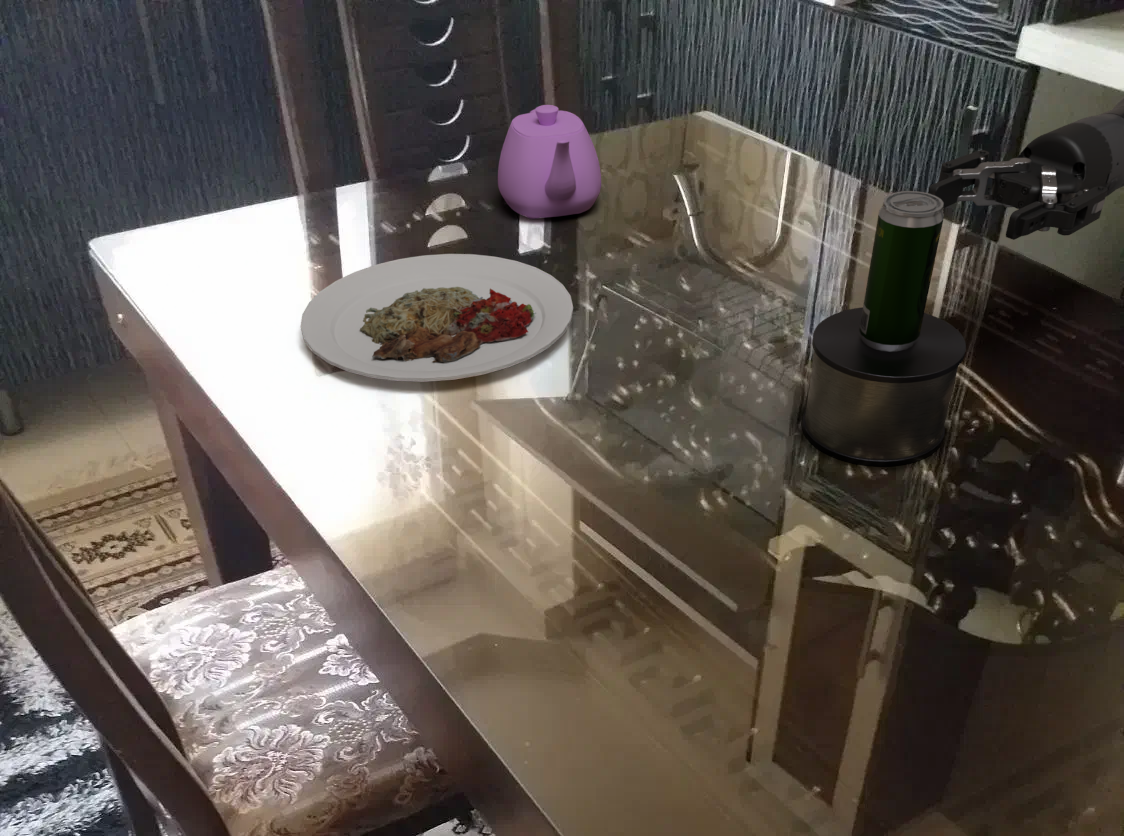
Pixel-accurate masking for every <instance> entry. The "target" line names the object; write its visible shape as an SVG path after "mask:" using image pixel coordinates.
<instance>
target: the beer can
mask: <svg viewBox="0 0 1124 836" xmlns="http://www.w3.org/2000/svg"><path fill="white" fill-rule="evenodd" d="M943 204H944V203H943V201H942V200H941V199H940V198H938V197H937V196H934V195H932V194H929V193H928V192H923V191H915V190H904V191H896V192H892V193H890V194H887V195H886V196H885V197H884V198H883V202H882V205H881V207H880V209H879V210H878V215H877V221H876V226H875V233H874V239H873V246H872V250H871V258H870V264H869V269H868V275H867V280H866V287H865V293H864V300H863V306H862V307H863V311H862V317H861V323H860V329H859V332H860V335H861V339H862V341H863V343H865V344H866V345H867V346H869V347H871V348H873V349H877V350H881V351H889V352H893V351H902V350H906V349H908V348H910V347H912V345H913V344H914V343H915V342H916V340H917V339H918V337H919V336H920V331H921V326H922V321H923V316H924V313H925V311H926V307H927V306H926V305H927V301H928V297H929V292H930V286H931V282H932V277H933V271H934V268H935V263H936V258H937V252H938V247H939V243H940V237H941V233H942V228H943V223H944V219H945V214H944V210H943V209H944V208H943Z"/></svg>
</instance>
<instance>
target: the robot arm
mask: <svg viewBox="0 0 1124 836" xmlns="http://www.w3.org/2000/svg"><path fill="white" fill-rule="evenodd" d="M989 156H990V152H989V151H988V150H985V149H980V150H977V151H973V152H970V153H968V154H965V155H962V156H959V157H956V158H954V159H950V160H947V161H944V162H942V163H941V166H940V172H939V177H938V182H935V183H932V184H930V185H929V187H928V191H927V193H929V194H932V195H934V196H937V197H938V198H940V199H941V200H942V201H943V203H944V204H943V209H945V208H947V207H950V206H952V205H954V204H957V203H958V202H973V203H974V204H975V206H977V207H985V206H986V207H987V206H988V207H989V206H1004V207H1005V208H1015V209H1016V210H1014V211H1012V213H1011V214H1010V215H1009V218H1008V223H1007V227H1006V231H1005V238H1007V239H1010V240H1017V239H1019V238H1021V237H1025V236H1029V235H1031V234H1033V233H1036V232H1037V231H1039V232H1049V231H1050V229H1051V228H1056V229H1057V234H1058V235H1061V236H1070V235H1072V234H1075V233H1076V232H1078V231H1080V230H1081V229H1084V228H1085V227H1087V226H1088V225H1090V224H1092V223H1094V222H1096V221H1097V220H1099V219H1100V218H1101V214H1102V212H1103V208H1104V204H1105V201H1106V198H1107V197H1108V196H1110V195H1111V194H1113V193H1114V192H1115V191H1117V190H1119V189H1121V188H1123V187H1124V96H1123V97H1122V98H1121V99H1120V100H1119V101H1118V102H1117V103H1116V104H1115V105H1114V106H1113V108H1112V109H1109V110H1107V111H1105V112H1102V113H1100V114H1097V115H1090V116H1087V117H1083V118H1080V119H1077V120H1075V121H1073V122H1071V123H1068V124H1066V125H1063V126H1060V127H1058V128H1056V129H1053V130H1050V131H1048V132H1046V133H1043V134H1041V135H1039V136H1037V137H1036V138H1034V139H1032V140H1031V141H1030V142H1029V143H1028V144H1027V145H1026V146H1025V147H1024V148H1023V149H1022V151H1021V152H1020V153H1019V155H1017V157H1013V158H1011V159H1009V160H1003V161H989ZM989 179H991V194H986V190H987V187H988V186H987V185H988V181H989ZM970 186H973V187H972V189H971V190H964V189H965V188H968V187H970Z"/></svg>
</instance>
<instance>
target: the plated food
mask: <svg viewBox="0 0 1124 836" xmlns="http://www.w3.org/2000/svg"><path fill="white" fill-rule="evenodd" d="M573 314H574V306H573V301H572V296H571V294H570V293H569V291H568V290H567V288H566V287H565V286H564V284H563V283H562V282H560V281H559V280H558V279H557V278H555V277H554V276H553V275H551V274H550V273H547V272H546V271H543V270H542V269H540V268H538V267H535V266H533V265H530V264H527V263H524V262H520V261H517V260H514V259H510V258H509V259H508V258H504V257H500V256H499V257H498V256H493V255H492V256H491V255H483V254H473V253H465V254H464V253H442V254H426V255H424V254H423V255H418V256H417V255H416V256H411V257H404V258H398V259H394V260H390V261H385V262H382V263H377V264H374V265H371V266H367V267H365V268H362V269H359V270H356V271H354V272H352V273H350V274H347V275H345V276H343V277H341V278H339V279H337V280H335V281H333V282H332V283H330V284H329V285H327V286H326V287H325V288H323V289H321V290H320V291H319V292H318V293H317V294H316V295H315V296H314V297H313V298H312V299H310V300H309V302H308V303H307V306H306V307H305V308H304V310H303V312H302V315H301V320H300V330H301V334H302V337H303V341H304V343H305V344H306V345H307V347H308V349H310V351H311V352H312V353H313V354H314V355H315V356H317V357H319V358H320V359H321V360H323V361H324V362H325V363H327V364H329V365H331V366H335V367H336V368H339V369H341V370H343V371H346V372H348V373H352V374H357V375H359V376H364V377H367V378H373V379H379V380H380V379H381V380H386V381H397V382H422V383H423V382H438V381H440V382H441V381H451V380H453V381H455V380H458V379H460V380H461V379H464V378H465V379H467V378H471V377H476V376H483V375H487V374H491V373H494V372H497V371H501V370H504V369H508V368H511V367H514V366H515V365H518V364H520V363H522V362H524V361H528V360H530V359H532V358H534V357H535V356H537V355H539V354H541V353H542V352H544V351H545V350H547V349H549V348H550V347H552V346H553V345H554V344H555V343H556V342H557V341H559V340H560V339H561V337H563V336H564V334H565V332H566V331H567V329H568V328H569V326H570V325H571V322H572V319H573Z"/></svg>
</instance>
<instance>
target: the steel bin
mask: <svg viewBox="0 0 1124 836" xmlns="http://www.w3.org/2000/svg"><path fill="white" fill-rule="evenodd" d="M862 311H863V306H862V307H855V308H850V309H846V310H842V311H838V312H836V313H834V314H832V315H831V314H830V315H829V316H828V317H826V318H824V319H823V320H821V321H820V322H819V323H818V324H817V325H816V327H815V329H814V331H813V333H812V340H811V344H812V345H811V346H812V349H813V356H812V364H811V371H810V380H809V385H808V392H807V400H806V408H805V410H804V412H803V415H802V421H801V422H802V423H801V428H802V431H803V434H804V436H805V438H806V439H807V440H808V442H810V444H811V445H812V446H814V447H815V448H816V449H817V450H818V451H821V452H822V453H824V454H826V455H828V456H830V457H832V458H835V459H837V460H841V461H844V462H847V463H850V464H855V465H862V466H867V467H896V466H897V467H898V466H903V465H909V464H912V463H916V462H919V461H922V460H924V459H926V458H928V457H929V456H931V455H933V454H934V453H935V452H936V451H937V450H938V449H939V448H940V447H941V446H942V444H943V442H944V438H945V433H946V426H945V424H946V421H947V417H948V411H949V407H950V403H951V399H952V394H953V390H954V386H955V382H956V378H957V373H958V369H959V366H960V365H961V364H962V362H963V360H964V358H965V355H966V350H967V343H966V341H965V338H964V336H963V334H962V333H961V332H960V331H959V330H958V329H957V328H955V326H954V325H952V324H950V323H949V322H947V321H946V320H943V319H941V318H939V317H937V316H934V315H932V314H929V313H926V312H924V316H923V321H922V326H921V331H920V336H919V337H918V339H917V340H916V342H915V343H914V344H913V345H912V347H910V348H908V349H906V350H902V351H893V352H889V351H881V350H877V349H873V348H871V347H869V346H867V345H866V344H865V343H863V341H862V339H861V335H860V332H859V329H860V323H861V317H862Z"/></svg>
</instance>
